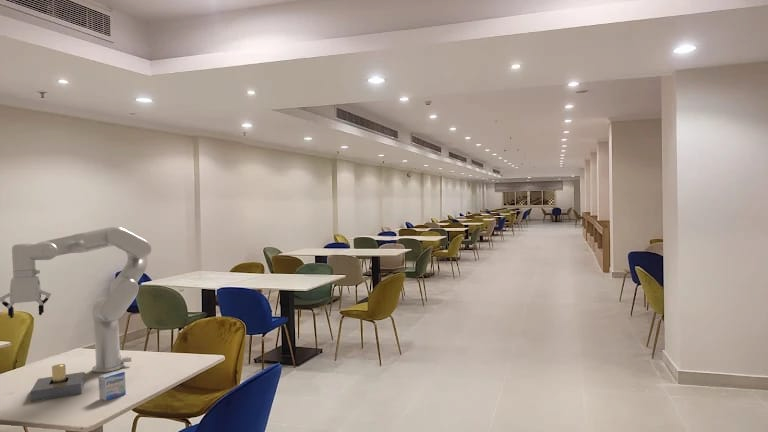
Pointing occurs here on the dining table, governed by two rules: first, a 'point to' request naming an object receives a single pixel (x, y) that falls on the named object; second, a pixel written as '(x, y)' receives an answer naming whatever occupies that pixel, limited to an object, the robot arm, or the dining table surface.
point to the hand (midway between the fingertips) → (26, 316)
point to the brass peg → (58, 373)
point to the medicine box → (112, 385)
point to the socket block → (58, 387)
